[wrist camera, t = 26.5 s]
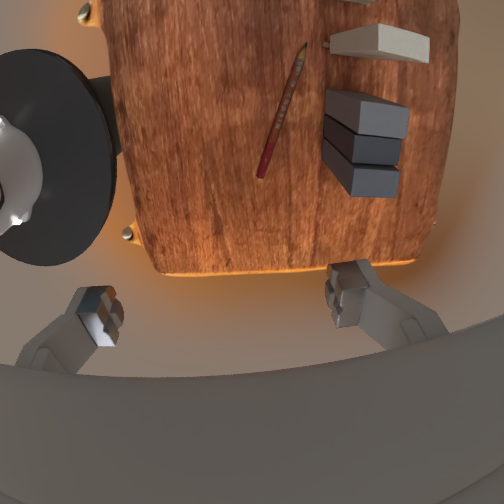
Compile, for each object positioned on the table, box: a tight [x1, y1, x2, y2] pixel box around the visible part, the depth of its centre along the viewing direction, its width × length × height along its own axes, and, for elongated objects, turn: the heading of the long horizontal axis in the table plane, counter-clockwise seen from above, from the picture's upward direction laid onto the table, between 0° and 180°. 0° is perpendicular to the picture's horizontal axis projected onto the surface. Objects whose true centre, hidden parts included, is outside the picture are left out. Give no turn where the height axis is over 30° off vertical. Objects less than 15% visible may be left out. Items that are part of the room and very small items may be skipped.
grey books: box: [322, 89, 410, 198], centre depth 30 cm, size 5×10×12 cm, turn 1°
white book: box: [330, 23, 430, 63], centre depth 22 cm, size 5×2×14 cm, turn 91°
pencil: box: [256, 43, 307, 179], centre depth 33 cm, size 19×1×1 cm, turn 163°
